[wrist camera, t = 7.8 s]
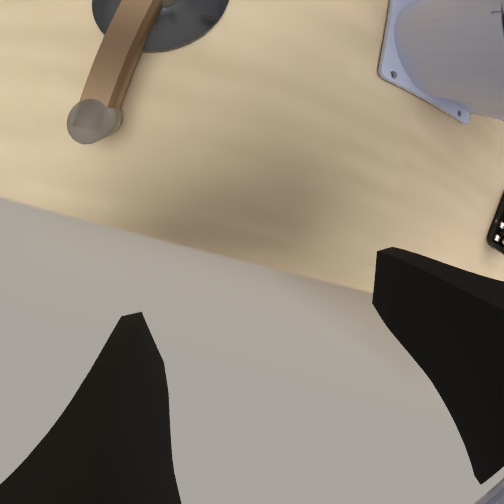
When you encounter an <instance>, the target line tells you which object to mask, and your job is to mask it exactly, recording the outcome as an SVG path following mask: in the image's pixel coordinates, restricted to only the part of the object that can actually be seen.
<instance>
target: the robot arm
mask: <svg viewBox="0 0 504 504" xmlns="http://www.w3.org/2000/svg"><path fill="white" fill-rule="evenodd" d="M391 72H392V73H393V78H392V77H391ZM378 73H379V75H380V77H381V78H382V79H384V80H386V81H388V82H390V83H392V84H394V85H396V86H398V87H400V88H402V89H404V90H406V91H408V92H410V93H412V94H414V95H416V96H418V97H419V98H421V99H423V100H425V101H427V102H428V103H430V104H432V105H434V106H435V107H437V108H439V109H440V110H442V111H444V112H445V113H447V114H449V115H450V116H452V117H453V118H455V119H456V120H458V121H460V122H461V123H464V124H468V122H469V120H470V114H476V115H481V116H485V117H490V118H494V119H498V120H502V121H504V0H390V3H389V10H388V16H387V23H386V29H385V35H384V40H383V46H382V52H381V57H380V62H379V67H378ZM457 112H458V114H457ZM372 304H373V305H374V307H375V308H376V310H377V312H378V313H379V315H380V317H381V318H382V320H383V321H384V323H385V324H386V326H387V327H388V328H389V330H390V331H391V332H392V333H393V335H394V336H395V337H396V338H397V339H398V341H399V342H400V343H401V344H402V345H403V347H404V348H405V349H406V350H407V351H408V352H409V354H410V355H411V356H412V357H413V359H414V360H415V361H416V362H417V363H418V365H419V366H420V367H421V368H422V369H423V371H424V372H425V373H426V375H427V376H428V377H429V379H430V380H431V381H432V383H433V385H434V386H435V388H436V389H437V391H438V392H439V394H440V396H441V398H442V399H443V401H444V403H445V405H446V407H447V408H448V410H449V412H450V414H451V416H452V418H453V420H454V422H455V424H456V426H457V428H458V430H459V433H460V435H461V437H462V440H463V442H464V444H465V447H466V450H467V453H468V456H469V459H470V461H471V464H472V468H473V472H474V475H475V477H476V478H477V480H478V481H479V483H480V484H482V483H484V482H485V481H487V480H488V479H489V478H490V477H492V476H493V475H494V474H495V473H496V472H498V471H499V470H500V469H501V468H502V467H503V466H504V282H503V281H499V280H495V279H491V278H488V277H484V276H481V275H478V274H475V273H472V272H468V271H465V270H462V269H459V268H457V267H454V266H451V265H448V264H445V263H442V262H439V261H437V260H434V259H431V258H428V257H425V256H422V255H419V254H416V253H413V252H410V251H406V250H403V249H399V248H395V247H390V248H387V249H384V250H380V251H377V259H376V271H375V282H374V292H373V301H372ZM0 504H181V500H180V496H179V492H178V487H177V483H176V479H175V474H174V468H173V461H172V450H171V436H170V417H169V397H168V387H167V380H166V374H165V367H164V362H163V360H162V357H161V355H160V353H159V351H158V349H157V346H156V344H155V342H154V340H153V338H152V335H151V333H150V331H149V328H148V326H147V324H146V322H145V319H144V317H143V314H142V312H139V313H135V314H130V315H126V316H122V317H121V318H120V320H119V321H118V323H117V325H116V327H115V328H114V330H113V332H112V333H111V335H110V337H109V339H108V340H107V342H106V344H105V346H104V347H103V349H102V351H101V353H100V354H99V356H98V358H97V359H96V361H95V363H94V365H93V366H92V368H91V370H90V372H89V373H88V375H87V376H86V378H85V379H84V381H83V383H82V384H81V386H80V388H79V389H78V391H77V392H76V394H75V395H74V397H73V399H72V400H71V402H70V403H69V405H68V406H67V407H66V409H65V410H64V412H63V413H62V415H61V416H60V417H59V419H58V420H57V421H56V423H55V424H54V426H53V427H52V428H51V429H50V431H49V432H48V433H47V434H46V436H45V437H44V438H43V439H42V440H41V442H40V443H39V444H38V445H37V446H36V448H35V449H34V450H33V451H32V452H31V453H30V455H29V456H28V457H27V458H26V459H25V460H24V461H23V462H22V464H21V465H20V466H19V467H18V468H17V469H16V470H15V471H14V472H13V473H12V474H11V475H10V476H9V477H8V478H7V479H6V480H5V481H4V482H2V483H1V484H0ZM474 504H504V478H503V479H502V480H501V481H500V482H499V483H498V484H496V485H495V486H494V487H493V488H492V489H491V490H490V491H488V492H487V493H486V494H485V495H484V496H483V497H481V498H480V499H479V500H478V501H477V502H475V503H474Z"/></svg>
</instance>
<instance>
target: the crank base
mask: <svg viewBox="0 0 504 504" xmlns="http://www.w3.org/2000/svg"><path fill="white" fill-rule="evenodd" d="M121 1H122V0H92V11H93V15H94V19H95V21H96V23H97V25H98V27H99V28H100V30H101V31H102V32H103V33H104V34H106V32H107V29H108V27H109V25H110V23H111V21H112V19H113V17H114V15H115V13H116V11H117V9H118V7H119V5H120V3H121ZM228 1H229V0H177V1H176V2H175V3H173V4H171V5H169V6H166V7H163V8H162V10H161V11H160V13H159V15H158V17H157V19H156V22H155V24H154V26H153V28H152V30H151V32H150V34H149V36H148V38H147V41H146V43H145V45H144V47H143V50H142V52H162V51H168V50H173V49H176V48H179V47H182V46H185V45H187V44H189V43H191V42H193V41H195V40H197V39H198V38H200V37H201V36H203V35H204V34H206V33H207V32H208V31H209V30H210V29H211V28H212V27H213V26H214V25H215V24H216V23H217V22H218V20H219V19H220V17H221V16H222V14H223V12H224V10H225V9H226V6H227V4H228Z"/></svg>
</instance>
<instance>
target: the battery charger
mask: <svg viewBox="0 0 504 504" xmlns="http://www.w3.org/2000/svg"><path fill="white" fill-rule="evenodd" d="M488 242H489V244H490V246H491V247H492V248H493V249H495V250H496V251H498V252H500V253H501V254H503V255H504V196H503V198H502V201H501V204H500V206H499V209H498V211H497V214H496V217H495V220H494V222H493V225H492V228H491V230H490V233H489V237H488Z"/></svg>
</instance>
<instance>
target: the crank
mask: <svg viewBox="0 0 504 504" xmlns="http://www.w3.org/2000/svg"><path fill="white" fill-rule="evenodd" d="M176 1H177V0H122V1H121V3H120V5H119V7H118V9H117V11H116V13H115V15H114V17H113V19H112V21H111V23H110V25H109V27H108V29H107V32H106V34H105V36H104V38H103V41H102V43H101V45H100V48H99V50H98V52H97V55H96V57H95V60H94V62H93V65H92V68H91V70H90V73H89V76H88V78H87V81H86V84H85V87H84V90H83V93H82V96H81V99H80V102H79V103H77V104H76V105H75V106H74V107H73V108H72V109H71V111H70V113H69V115H68V119H67V129H68V132H69V134H70V136H71V137H72V138H73V139H74V140H75V141H76V142H78V143H81V144H91V143H94V142H96V141H99V140H101V139H103V138H105V137H107V136H109V135H111V134H113V133H114V132H115V131H116V130H117V129H118V128H119V126H120V124H121V121H122V112H121V109H120V106H121V103H122V101H123V98H124V95H125V92H126V90H127V87H128V84H129V82H130V79H131V76H132V74H133V71H134V69H135V66H136V64H137V61H138V59H139V57H140V54H141V52H142V50H143V47H144V45H145V43H146V41H147V38H148V36H149V34H150V32H151V30H152V28H153V26H154V24H155V22H156V19H157V17H158V15H159V13H160V11H161V10H162V8H163V7H166V6H169V5H171V4H173V3H175V2H176Z"/></svg>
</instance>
